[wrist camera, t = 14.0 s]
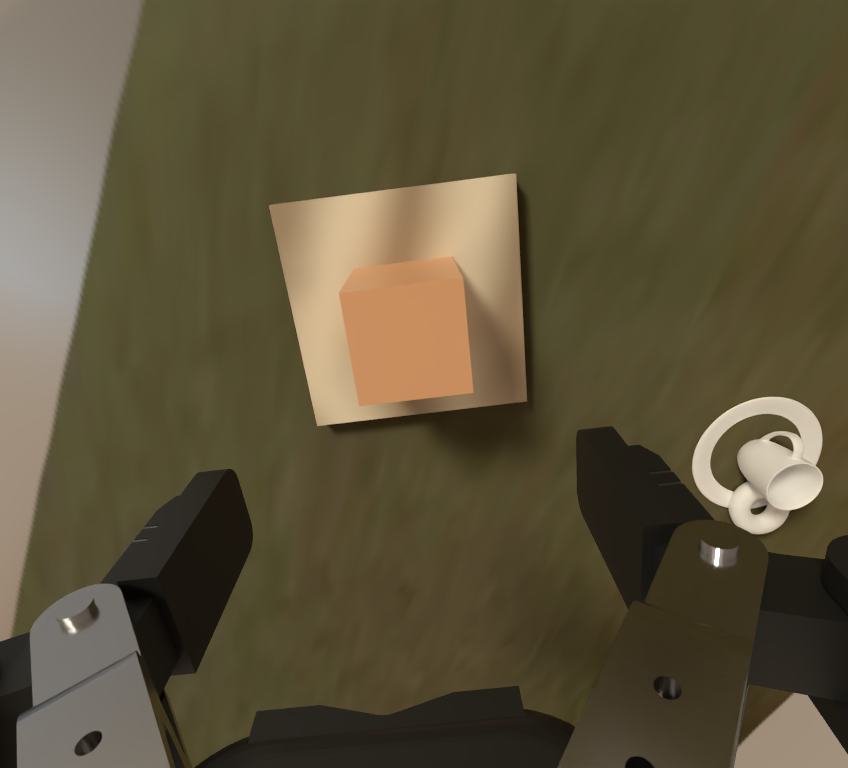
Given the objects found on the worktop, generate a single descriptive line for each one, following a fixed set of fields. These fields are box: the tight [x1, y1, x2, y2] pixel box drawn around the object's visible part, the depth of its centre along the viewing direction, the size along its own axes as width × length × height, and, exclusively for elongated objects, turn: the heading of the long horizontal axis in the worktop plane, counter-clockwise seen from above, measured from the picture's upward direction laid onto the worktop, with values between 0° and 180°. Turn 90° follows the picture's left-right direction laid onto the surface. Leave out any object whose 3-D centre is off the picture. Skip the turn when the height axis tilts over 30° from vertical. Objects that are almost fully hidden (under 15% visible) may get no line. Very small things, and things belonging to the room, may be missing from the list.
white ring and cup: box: [692, 397, 823, 534], centre depth 31 cm, size 9×8×4 cm
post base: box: [269, 174, 527, 426], centre depth 26 cm, size 12×12×5 cm
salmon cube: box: [339, 256, 473, 406], centre depth 24 cm, size 5×5×6 cm
